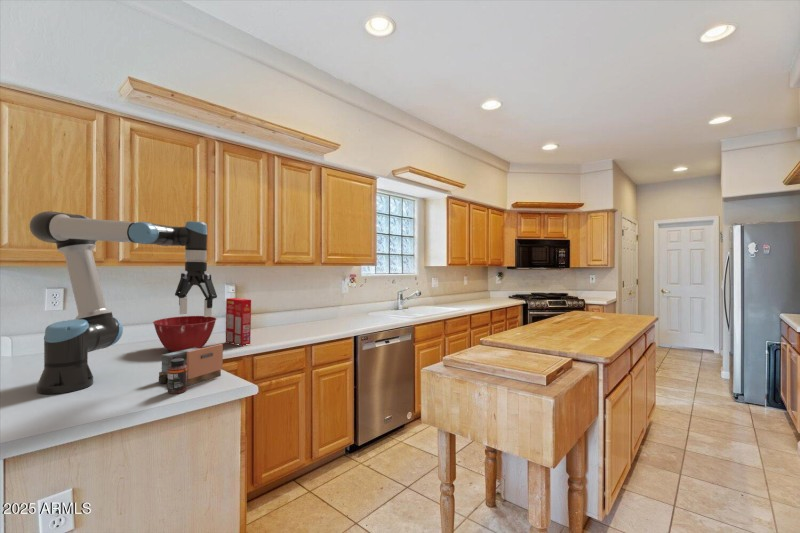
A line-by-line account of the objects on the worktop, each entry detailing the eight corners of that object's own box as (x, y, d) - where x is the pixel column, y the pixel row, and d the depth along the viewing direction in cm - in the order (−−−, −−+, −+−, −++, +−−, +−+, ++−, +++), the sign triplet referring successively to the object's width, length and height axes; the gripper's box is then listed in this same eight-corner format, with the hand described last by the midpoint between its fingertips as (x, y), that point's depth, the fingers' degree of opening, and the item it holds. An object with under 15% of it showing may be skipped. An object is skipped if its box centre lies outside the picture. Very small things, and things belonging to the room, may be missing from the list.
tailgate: (189, 379, 137) (189, 352, 137) (186, 378, 138) (186, 351, 138) (223, 369, 151) (224, 344, 151) (220, 368, 151) (221, 344, 151)
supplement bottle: (183, 387, 137) (183, 356, 137) (189, 391, 133) (190, 359, 133) (164, 391, 133) (165, 359, 133) (171, 395, 129) (171, 362, 129)
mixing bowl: (188, 358, 177) (189, 325, 177) (137, 353, 183) (138, 322, 183) (227, 345, 205) (227, 317, 205) (182, 342, 211) (182, 314, 211)
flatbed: (180, 388, 136) (180, 360, 136) (155, 382, 142) (155, 356, 142) (223, 374, 153) (223, 350, 153) (199, 370, 159) (199, 346, 159)
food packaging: (250, 344, 209) (251, 299, 208) (241, 346, 204) (242, 300, 204) (234, 341, 216) (234, 297, 216) (225, 342, 212) (226, 298, 212)
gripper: (227, 261, 146) (226, 316, 146) (182, 260, 155) (182, 312, 156) (211, 261, 139) (210, 318, 139) (165, 260, 149) (164, 314, 149)
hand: (195, 315), depth 147 cm, fingers open, 13 cm apart
